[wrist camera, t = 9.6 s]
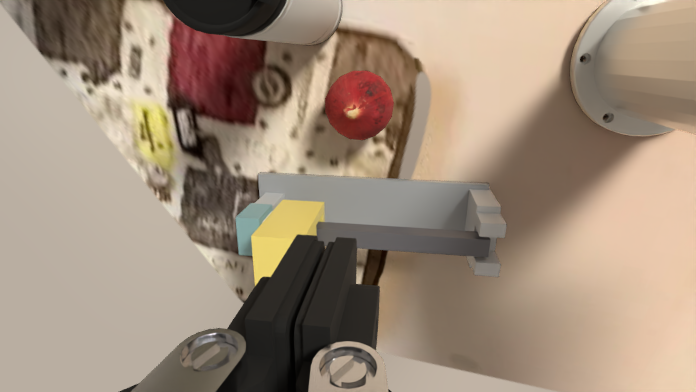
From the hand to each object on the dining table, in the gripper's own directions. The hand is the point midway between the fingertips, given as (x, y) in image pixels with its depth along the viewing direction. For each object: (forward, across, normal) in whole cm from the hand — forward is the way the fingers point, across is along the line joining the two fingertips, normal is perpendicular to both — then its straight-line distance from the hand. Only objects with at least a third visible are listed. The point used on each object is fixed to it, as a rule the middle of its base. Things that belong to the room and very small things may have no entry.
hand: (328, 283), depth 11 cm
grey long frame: (+29, +1, +9) cm, 30 cm away
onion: (+29, +2, -2) cm, 29 cm away
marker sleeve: (+25, +7, +9) cm, 27 cm away
